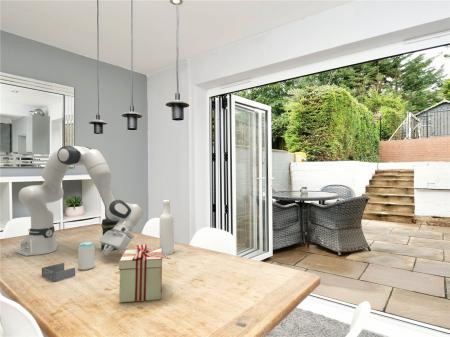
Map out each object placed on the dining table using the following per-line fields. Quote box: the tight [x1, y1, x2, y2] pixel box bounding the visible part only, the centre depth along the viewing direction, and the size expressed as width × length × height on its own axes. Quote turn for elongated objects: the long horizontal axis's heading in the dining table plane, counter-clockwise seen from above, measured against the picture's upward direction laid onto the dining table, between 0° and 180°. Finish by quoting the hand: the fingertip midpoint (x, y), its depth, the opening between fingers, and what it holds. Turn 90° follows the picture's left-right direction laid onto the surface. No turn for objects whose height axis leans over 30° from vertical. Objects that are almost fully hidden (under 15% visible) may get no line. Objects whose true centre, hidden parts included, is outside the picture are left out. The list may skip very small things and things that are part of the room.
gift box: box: [118, 243, 171, 303], centre depth 108 cm, size 17×18×17 cm
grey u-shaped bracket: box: [41, 262, 76, 283], centre depth 125 cm, size 9×12×4 cm
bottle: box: [159, 199, 175, 256], centre depth 159 cm, size 8×8×30 cm
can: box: [77, 241, 96, 271], centre depth 135 cm, size 7×7×12 cm
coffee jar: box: [100, 218, 118, 251], centre depth 167 cm, size 10×8×19 cm
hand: (104, 253), depth 142 cm, fingers closed
